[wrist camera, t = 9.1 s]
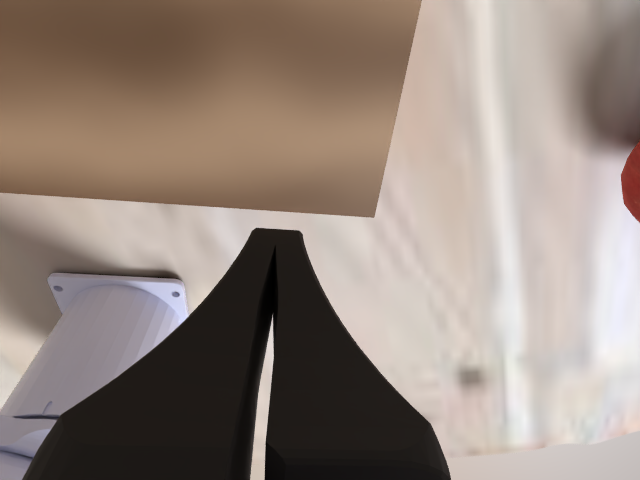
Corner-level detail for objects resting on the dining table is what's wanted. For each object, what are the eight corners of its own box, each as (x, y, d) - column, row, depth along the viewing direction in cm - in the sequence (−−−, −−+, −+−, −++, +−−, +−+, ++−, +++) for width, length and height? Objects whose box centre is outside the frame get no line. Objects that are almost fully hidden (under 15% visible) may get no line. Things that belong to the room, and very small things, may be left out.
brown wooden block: (363, 174, 20) (374, 217, 17) (-48, 142, 19) (-120, 184, 16) (422, -145, 13) (458, -170, 10) (-238, -240, 12) (-442, -305, 8)
